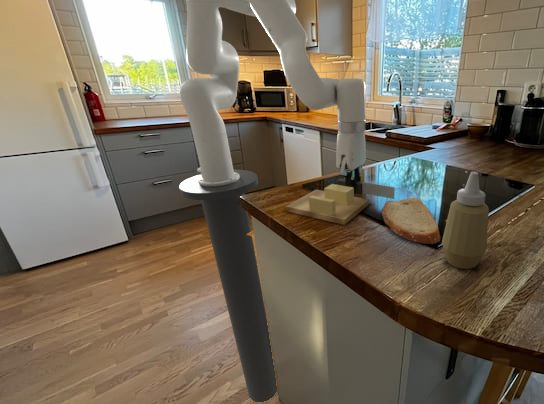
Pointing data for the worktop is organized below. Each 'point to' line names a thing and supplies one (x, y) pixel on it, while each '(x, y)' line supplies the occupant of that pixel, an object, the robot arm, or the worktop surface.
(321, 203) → the butter slice
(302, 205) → the cutting board
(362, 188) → the knife
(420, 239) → the slice of bread
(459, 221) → the squeeze bottle
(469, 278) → the worktop surface
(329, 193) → the butter block
